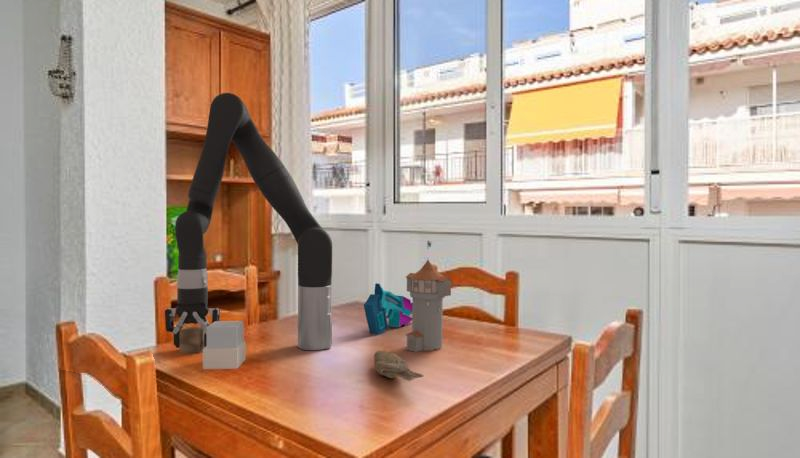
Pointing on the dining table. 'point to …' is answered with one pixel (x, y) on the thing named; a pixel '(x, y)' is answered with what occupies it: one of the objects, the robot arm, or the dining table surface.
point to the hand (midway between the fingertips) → (192, 346)
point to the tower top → (225, 334)
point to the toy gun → (386, 310)
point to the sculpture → (393, 366)
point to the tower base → (224, 357)
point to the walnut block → (191, 340)
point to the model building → (427, 307)
